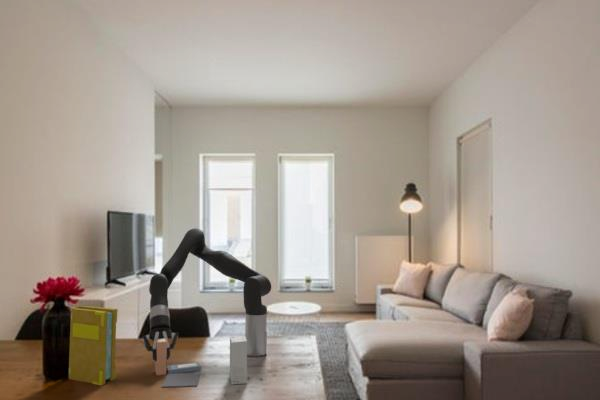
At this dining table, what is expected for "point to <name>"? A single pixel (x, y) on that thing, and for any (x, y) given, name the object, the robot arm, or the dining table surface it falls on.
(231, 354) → the skincare box
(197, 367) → the blue panel box
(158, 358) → the tan rectangular block
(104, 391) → the dining table surface
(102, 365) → the book
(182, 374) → the mat
